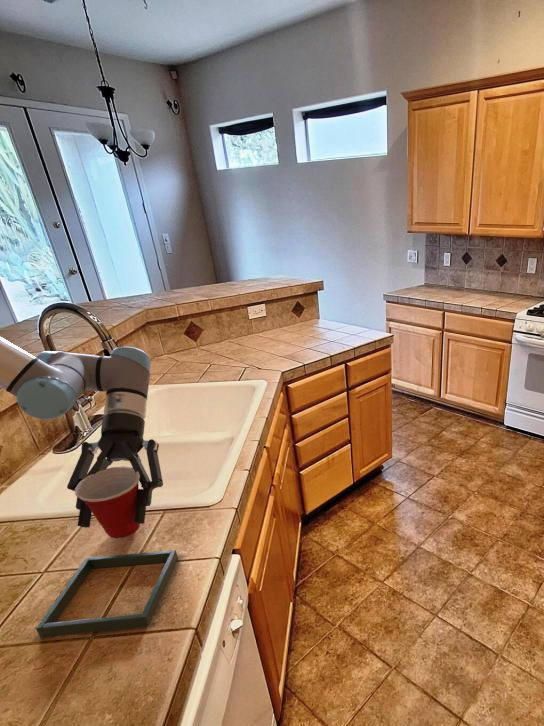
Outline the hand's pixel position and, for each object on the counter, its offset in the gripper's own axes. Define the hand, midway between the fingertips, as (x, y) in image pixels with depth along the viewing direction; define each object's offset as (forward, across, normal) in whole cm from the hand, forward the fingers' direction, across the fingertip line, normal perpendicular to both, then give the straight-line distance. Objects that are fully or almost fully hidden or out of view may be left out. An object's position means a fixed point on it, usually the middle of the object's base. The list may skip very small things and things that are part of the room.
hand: (111, 524), depth 83 cm
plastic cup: (+1, 0, +5) cm, 5 cm away
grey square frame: (+14, +5, -6) cm, 16 cm away
